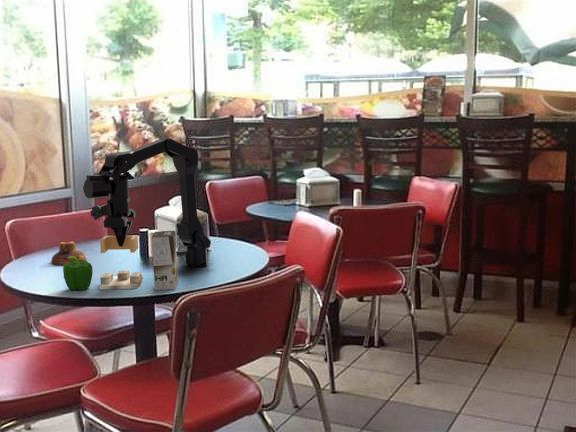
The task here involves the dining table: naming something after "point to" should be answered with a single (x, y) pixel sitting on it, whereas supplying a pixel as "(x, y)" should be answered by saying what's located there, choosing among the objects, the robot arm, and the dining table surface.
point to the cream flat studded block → (121, 280)
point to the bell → (67, 254)
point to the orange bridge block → (112, 243)
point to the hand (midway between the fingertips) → (121, 245)
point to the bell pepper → (77, 274)
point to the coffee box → (164, 260)
